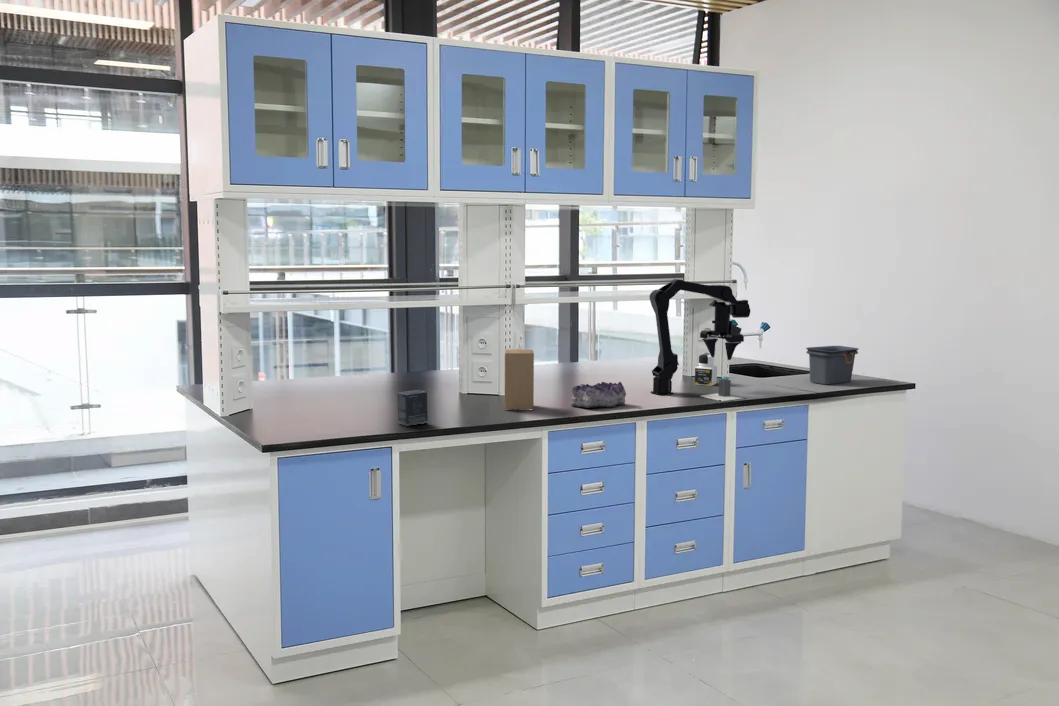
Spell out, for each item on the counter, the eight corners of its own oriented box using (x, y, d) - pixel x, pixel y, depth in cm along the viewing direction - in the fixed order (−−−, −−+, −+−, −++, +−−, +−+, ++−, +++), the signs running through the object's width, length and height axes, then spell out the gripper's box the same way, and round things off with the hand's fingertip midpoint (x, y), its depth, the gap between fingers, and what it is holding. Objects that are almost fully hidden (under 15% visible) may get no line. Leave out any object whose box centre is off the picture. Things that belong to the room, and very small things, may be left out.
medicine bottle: (694, 384, 392) (695, 355, 391) (699, 382, 398) (700, 353, 397) (711, 386, 389) (712, 356, 387) (716, 383, 395) (717, 354, 394)
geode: (614, 401, 355) (617, 375, 353) (631, 411, 345) (634, 384, 343) (565, 403, 346) (568, 376, 344) (581, 413, 336) (584, 385, 334)
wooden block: (532, 405, 346) (533, 349, 343) (533, 410, 336) (533, 353, 333) (504, 405, 346) (504, 349, 343) (504, 410, 336) (504, 353, 333)
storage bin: (833, 377, 412) (835, 344, 410) (865, 382, 399) (866, 348, 398) (800, 382, 400) (802, 347, 398) (832, 387, 387) (833, 352, 385)
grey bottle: (724, 396, 363) (724, 377, 362) (718, 395, 366) (719, 376, 365) (730, 395, 365) (730, 377, 364) (724, 394, 367) (725, 375, 366)
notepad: (722, 401, 355) (722, 399, 355) (700, 396, 365) (700, 395, 365) (744, 398, 361) (744, 397, 361) (721, 393, 371) (721, 392, 371)
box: (418, 421, 317) (418, 389, 315) (428, 424, 312) (427, 391, 311) (397, 424, 312) (397, 391, 310) (407, 427, 307) (406, 394, 306)
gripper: (755, 319, 368) (753, 359, 370) (721, 315, 383) (720, 354, 386) (733, 320, 362) (731, 362, 364) (699, 316, 378) (698, 356, 380)
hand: (720, 358), depth 374 cm, fingers open, 9 cm apart
